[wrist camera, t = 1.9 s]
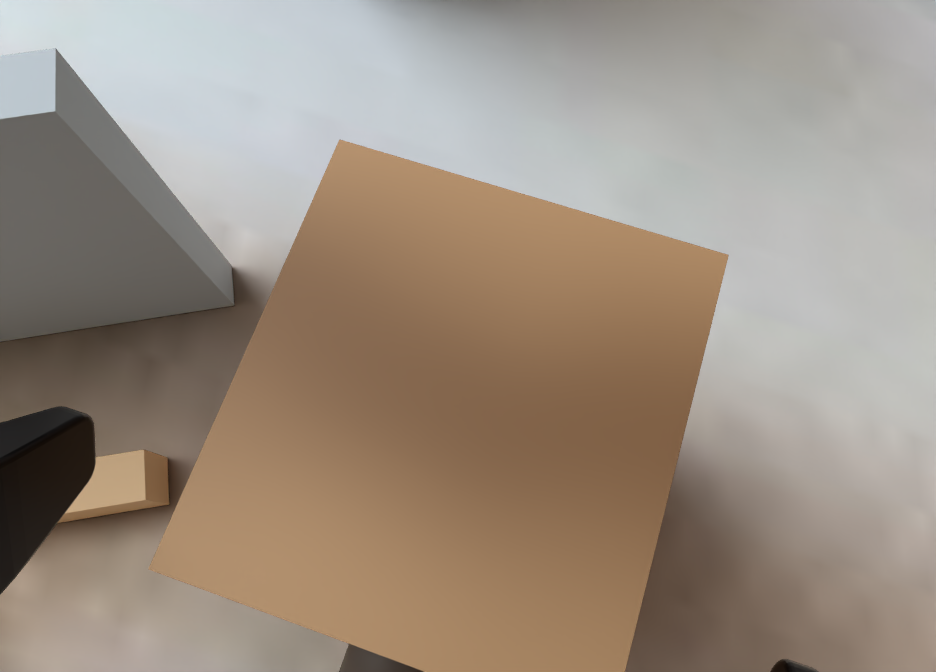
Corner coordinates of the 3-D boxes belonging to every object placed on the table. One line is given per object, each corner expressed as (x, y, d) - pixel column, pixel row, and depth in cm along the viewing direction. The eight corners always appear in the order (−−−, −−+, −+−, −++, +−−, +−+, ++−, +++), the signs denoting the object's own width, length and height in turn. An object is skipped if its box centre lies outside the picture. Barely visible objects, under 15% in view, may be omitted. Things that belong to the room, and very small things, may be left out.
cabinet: (520, 685, 17) (582, 840, 8) (305, 605, 18) (108, 657, 8) (600, 408, 19) (728, 254, 10) (403, 345, 20) (339, 139, 10)
